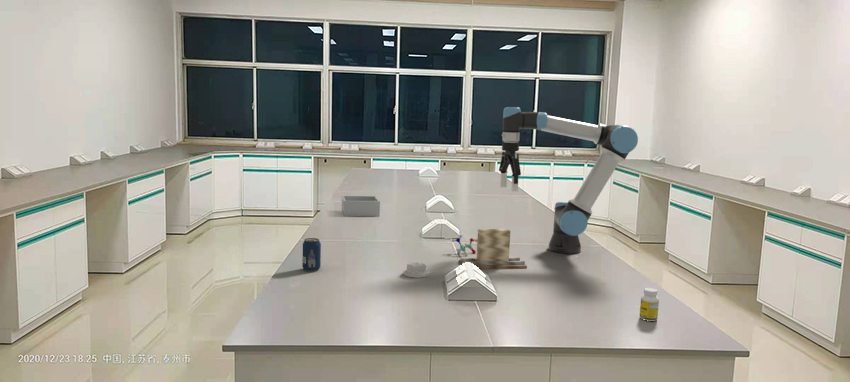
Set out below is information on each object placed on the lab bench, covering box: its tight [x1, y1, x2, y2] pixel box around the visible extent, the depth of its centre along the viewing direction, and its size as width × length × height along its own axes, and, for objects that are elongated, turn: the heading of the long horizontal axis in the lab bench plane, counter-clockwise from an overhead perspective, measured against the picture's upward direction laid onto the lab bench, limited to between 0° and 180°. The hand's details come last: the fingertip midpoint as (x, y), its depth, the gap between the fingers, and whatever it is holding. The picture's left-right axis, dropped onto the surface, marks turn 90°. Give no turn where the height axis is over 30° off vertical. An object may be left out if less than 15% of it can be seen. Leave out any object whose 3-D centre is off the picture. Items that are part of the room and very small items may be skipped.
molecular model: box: [451, 234, 478, 257], centre depth 277 cm, size 12×10×10 cm
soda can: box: [301, 237, 322, 273], centre depth 239 cm, size 7×7×12 cm
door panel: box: [476, 228, 511, 262], centre depth 257 cm, size 13×4×14 cm, turn 101°
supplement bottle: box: [639, 287, 660, 322], centre depth 196 cm, size 5×5×10 cm
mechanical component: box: [402, 261, 430, 279], centre depth 239 cm, size 10×4×10 cm
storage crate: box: [341, 195, 381, 217], centre depth 371 cm, size 21×21×9 cm
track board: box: [458, 257, 528, 270], centre depth 258 cm, size 26×12×2 cm, turn 101°
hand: (508, 189), depth 277 cm, fingers open, 13 cm apart
